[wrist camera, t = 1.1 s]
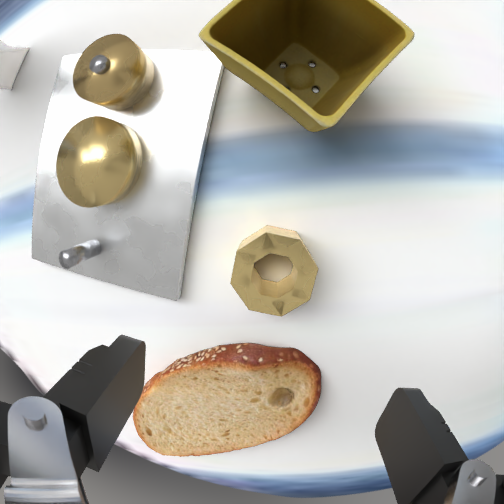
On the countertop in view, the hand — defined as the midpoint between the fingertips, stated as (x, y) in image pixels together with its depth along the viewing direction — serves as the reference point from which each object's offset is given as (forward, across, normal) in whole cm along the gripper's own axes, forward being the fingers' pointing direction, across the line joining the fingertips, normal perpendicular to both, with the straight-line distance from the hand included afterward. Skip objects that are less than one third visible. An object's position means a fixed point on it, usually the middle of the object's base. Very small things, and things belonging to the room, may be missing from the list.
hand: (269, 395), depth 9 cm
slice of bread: (+17, +2, +16) cm, 23 cm away
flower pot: (+16, +1, -15) cm, 22 cm away
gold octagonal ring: (+16, 0, 0) cm, 16 cm away
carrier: (+16, +15, -5) cm, 23 cm away
